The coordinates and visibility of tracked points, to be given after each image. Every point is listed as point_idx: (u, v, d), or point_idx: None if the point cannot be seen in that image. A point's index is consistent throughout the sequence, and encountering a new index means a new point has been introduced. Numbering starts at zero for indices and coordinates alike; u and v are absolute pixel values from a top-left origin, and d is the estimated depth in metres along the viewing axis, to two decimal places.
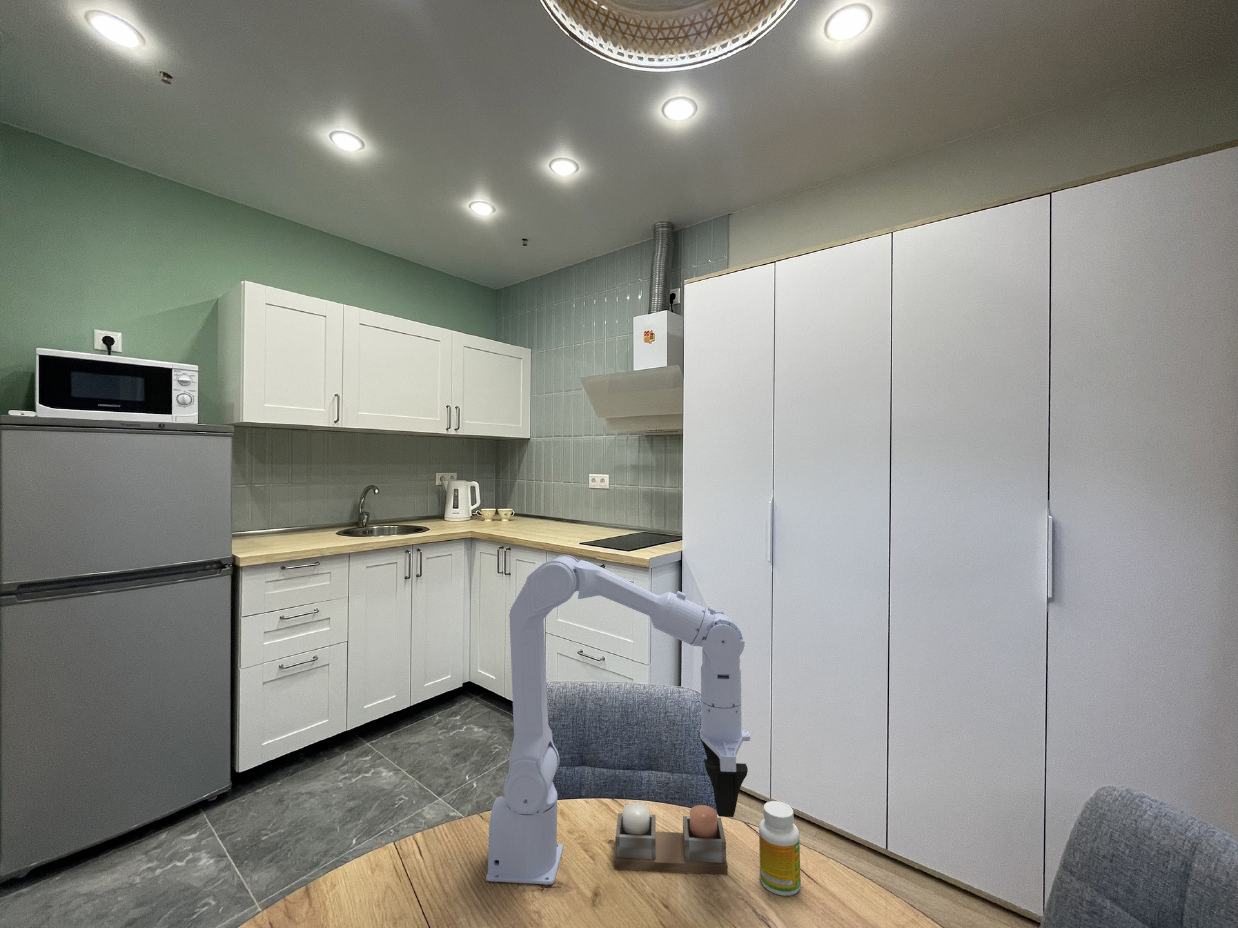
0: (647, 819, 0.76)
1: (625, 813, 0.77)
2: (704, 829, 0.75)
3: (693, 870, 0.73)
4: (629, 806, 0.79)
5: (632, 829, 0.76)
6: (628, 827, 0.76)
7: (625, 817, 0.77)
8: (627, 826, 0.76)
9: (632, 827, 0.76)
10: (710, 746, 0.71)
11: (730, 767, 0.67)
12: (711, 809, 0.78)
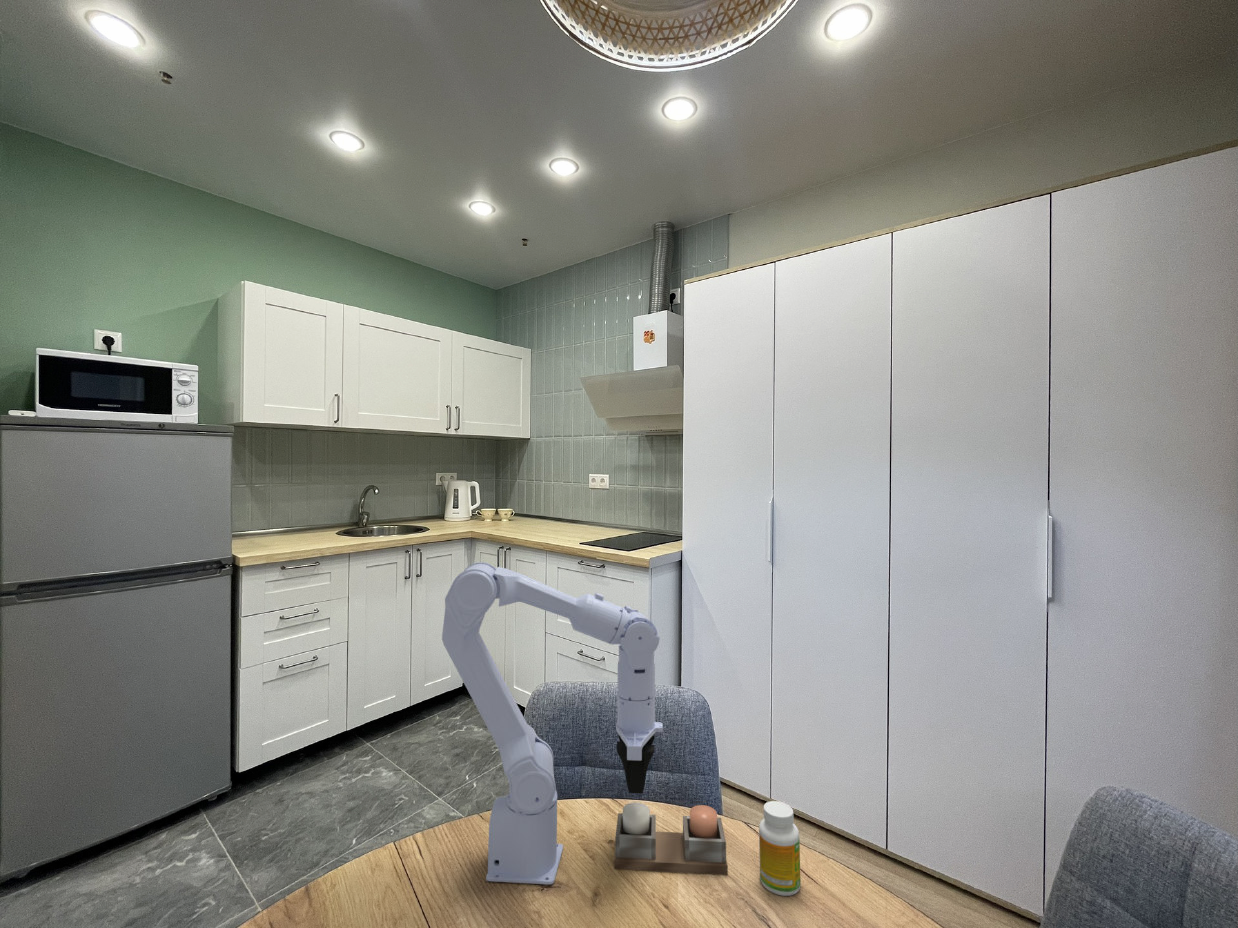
0: (647, 819, 0.76)
1: (625, 813, 0.77)
2: (704, 829, 0.75)
3: (693, 870, 0.73)
4: (629, 806, 0.79)
5: (632, 829, 0.76)
6: (628, 827, 0.76)
7: (625, 817, 0.77)
8: (627, 826, 0.76)
9: (632, 827, 0.76)
10: (621, 737, 0.75)
11: (636, 756, 0.71)
12: (711, 809, 0.78)
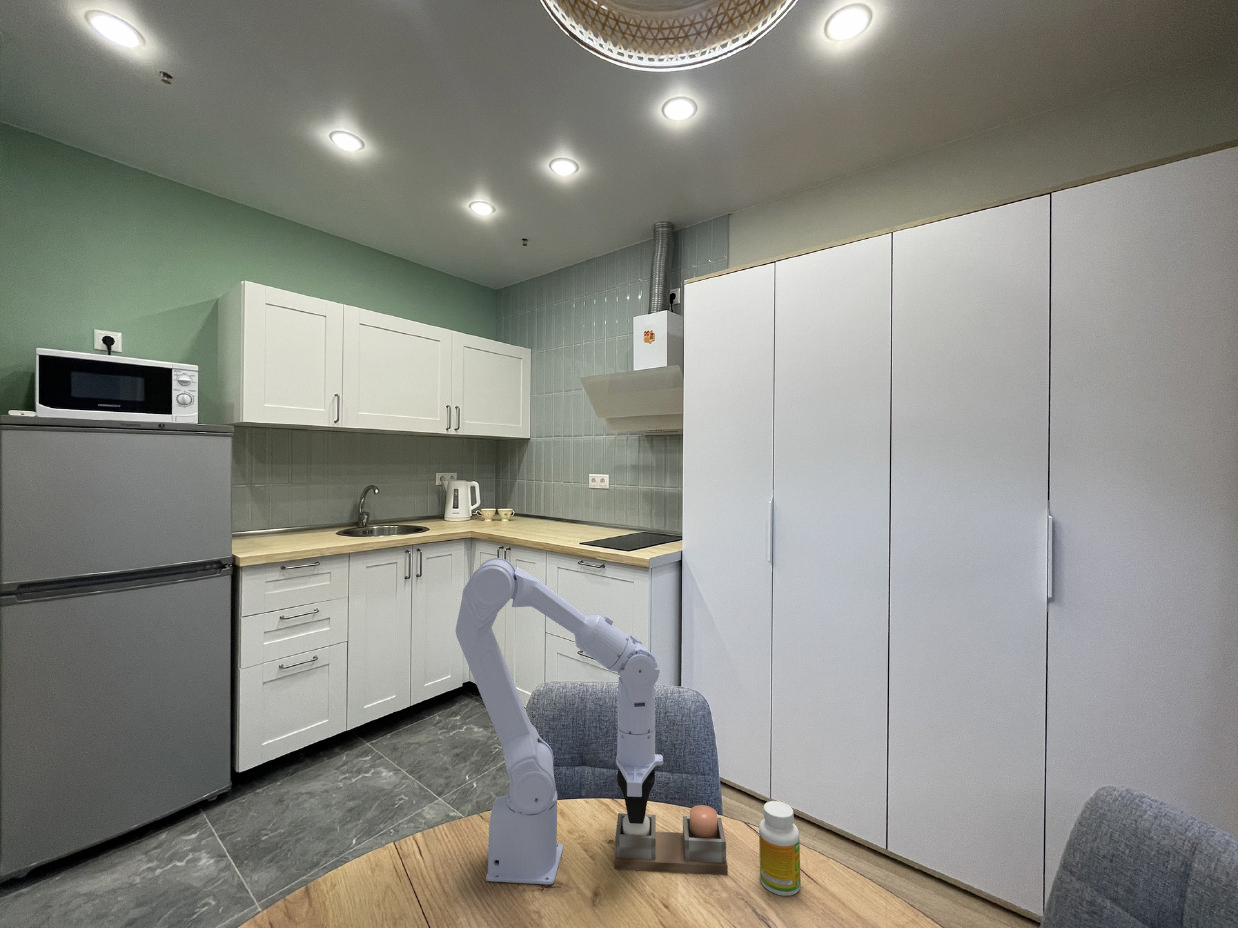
0: (647, 830, 0.76)
1: (625, 824, 0.77)
2: (704, 829, 0.75)
3: (693, 870, 0.73)
4: None
5: None
6: None
7: (625, 828, 0.76)
8: None
9: None
10: (622, 771, 0.75)
11: (636, 792, 0.71)
12: (711, 809, 0.78)
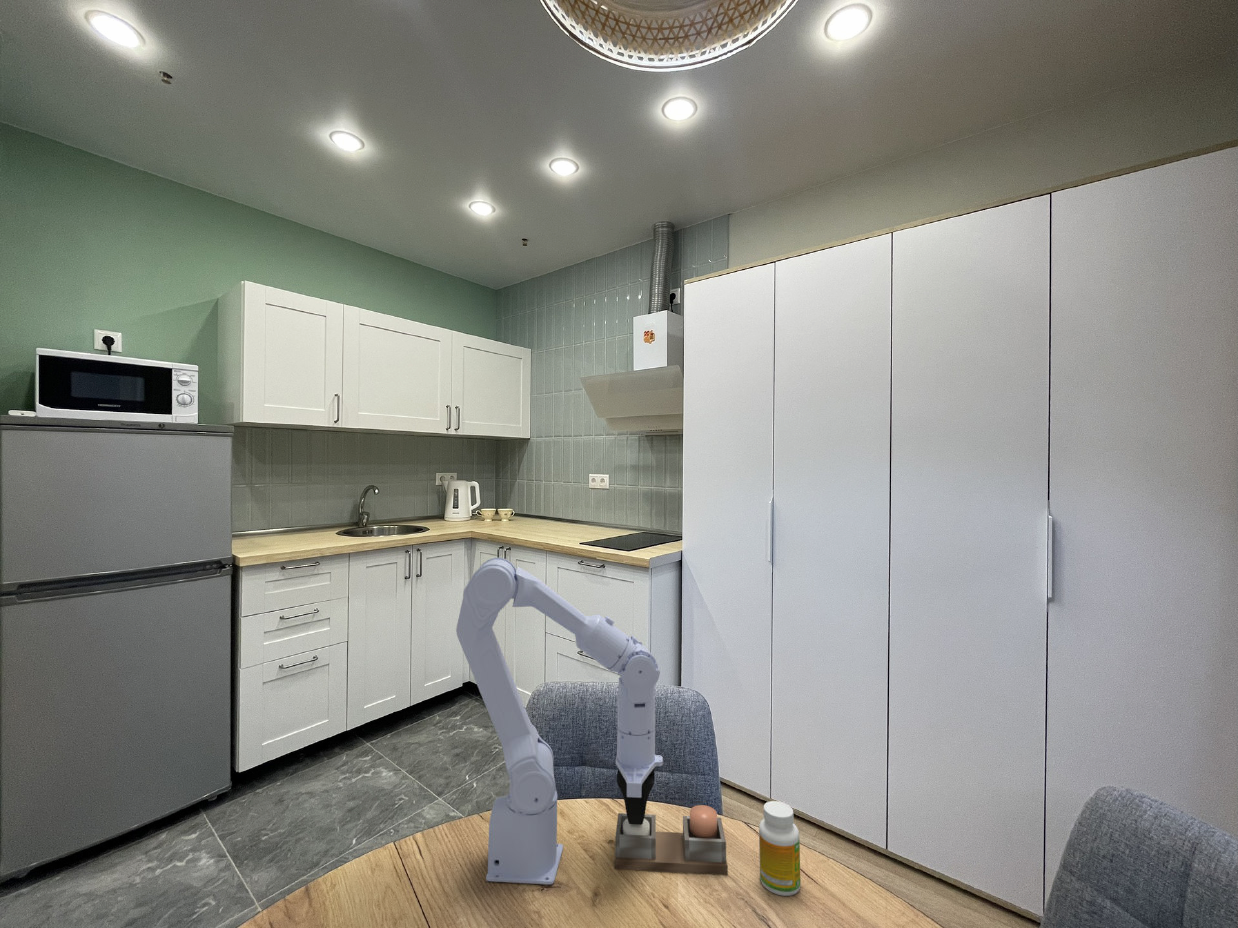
0: (647, 834, 0.76)
1: (625, 828, 0.77)
2: (704, 829, 0.75)
3: (693, 870, 0.73)
4: None
5: None
6: None
7: (625, 832, 0.76)
8: None
9: None
10: (621, 772, 0.75)
11: (635, 793, 0.71)
12: (711, 809, 0.78)
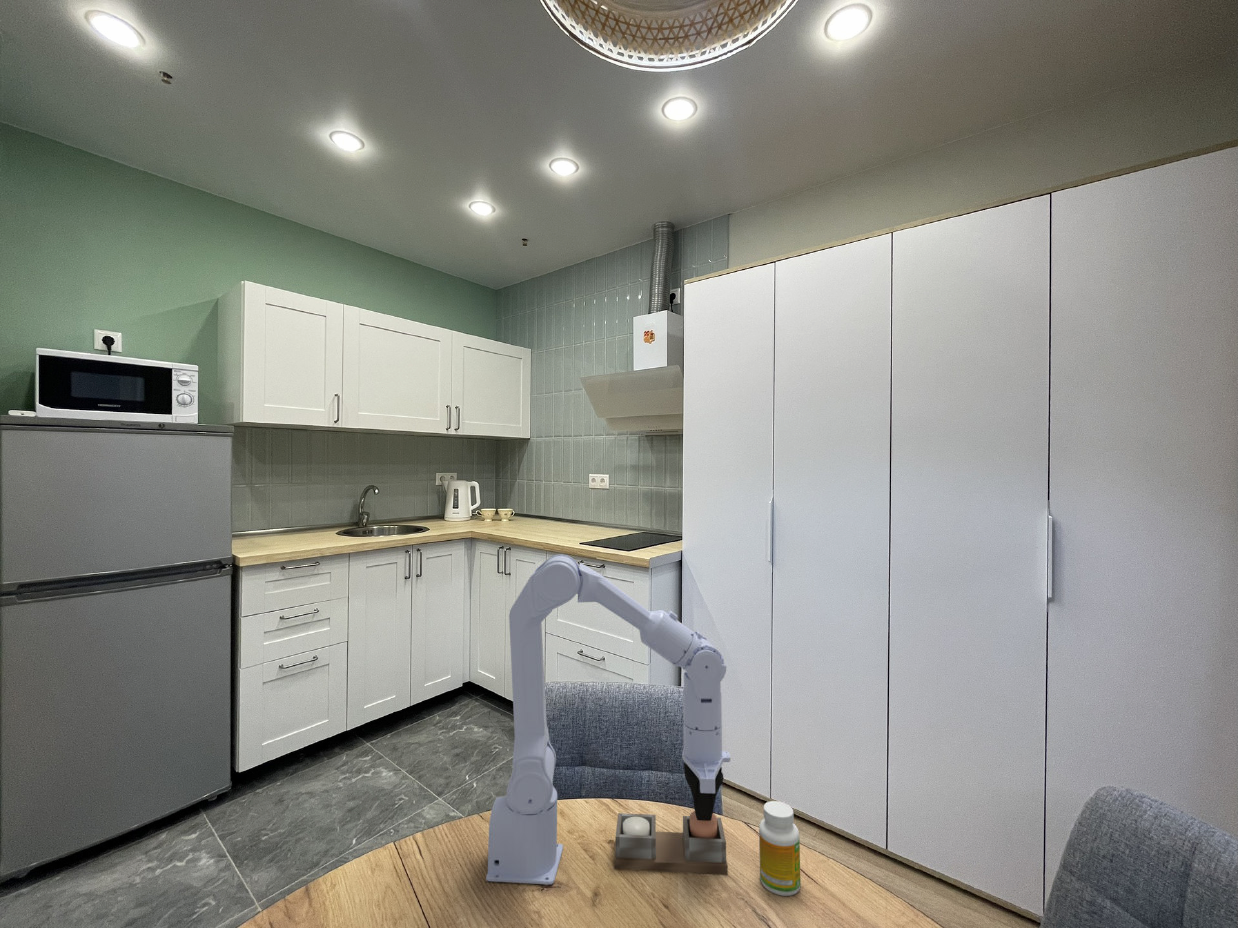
0: (647, 834, 0.76)
1: (625, 828, 0.77)
2: (704, 834, 0.75)
3: (693, 870, 0.73)
4: (629, 820, 0.79)
5: None
6: None
7: (625, 832, 0.76)
8: None
9: None
10: (691, 768, 0.74)
11: (709, 789, 0.70)
12: None
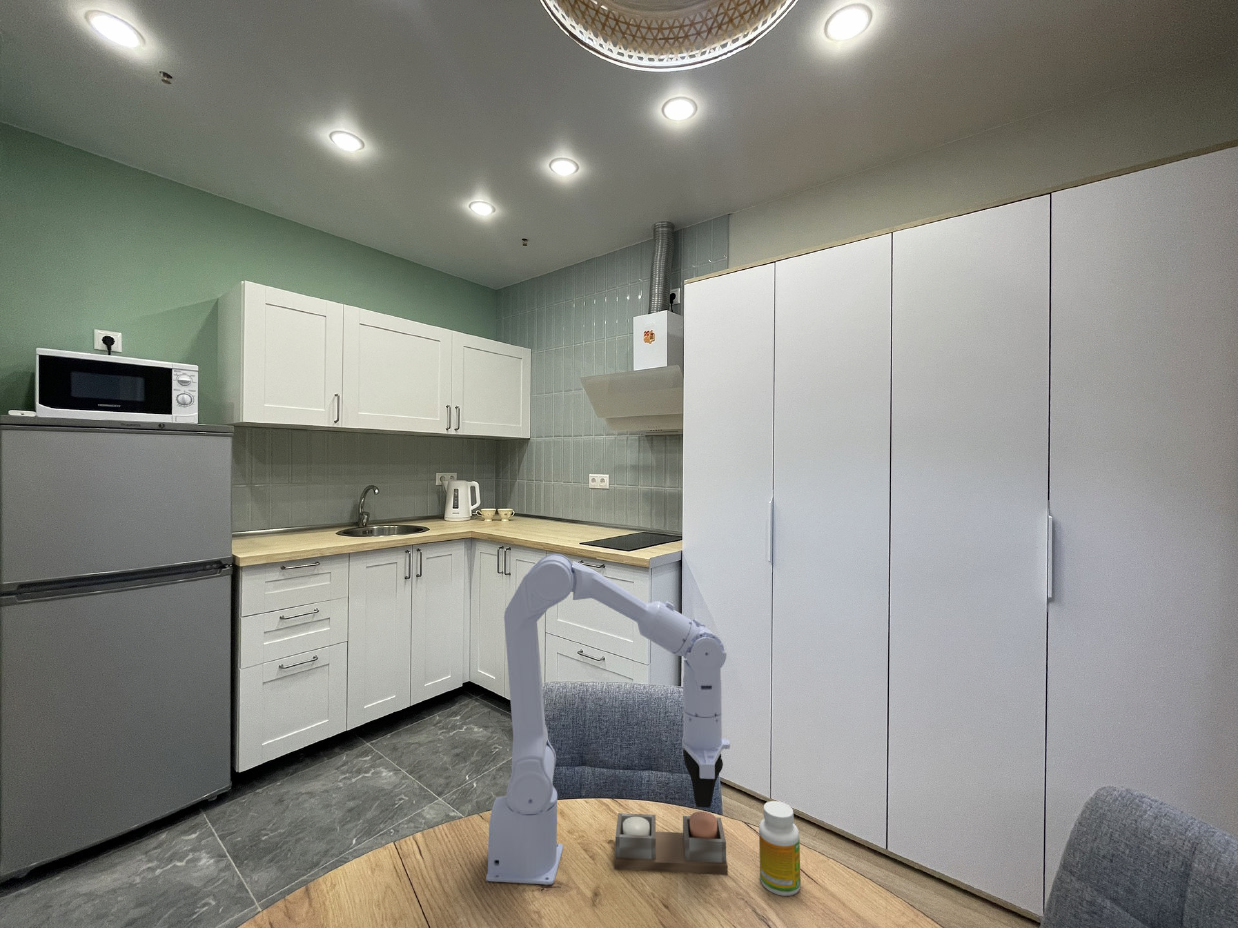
0: (647, 834, 0.76)
1: (625, 828, 0.77)
2: (704, 836, 0.75)
3: (693, 870, 0.73)
4: (629, 820, 0.79)
5: None
6: None
7: (625, 832, 0.76)
8: None
9: None
10: (691, 754, 0.74)
11: (709, 774, 0.70)
12: (711, 815, 0.78)
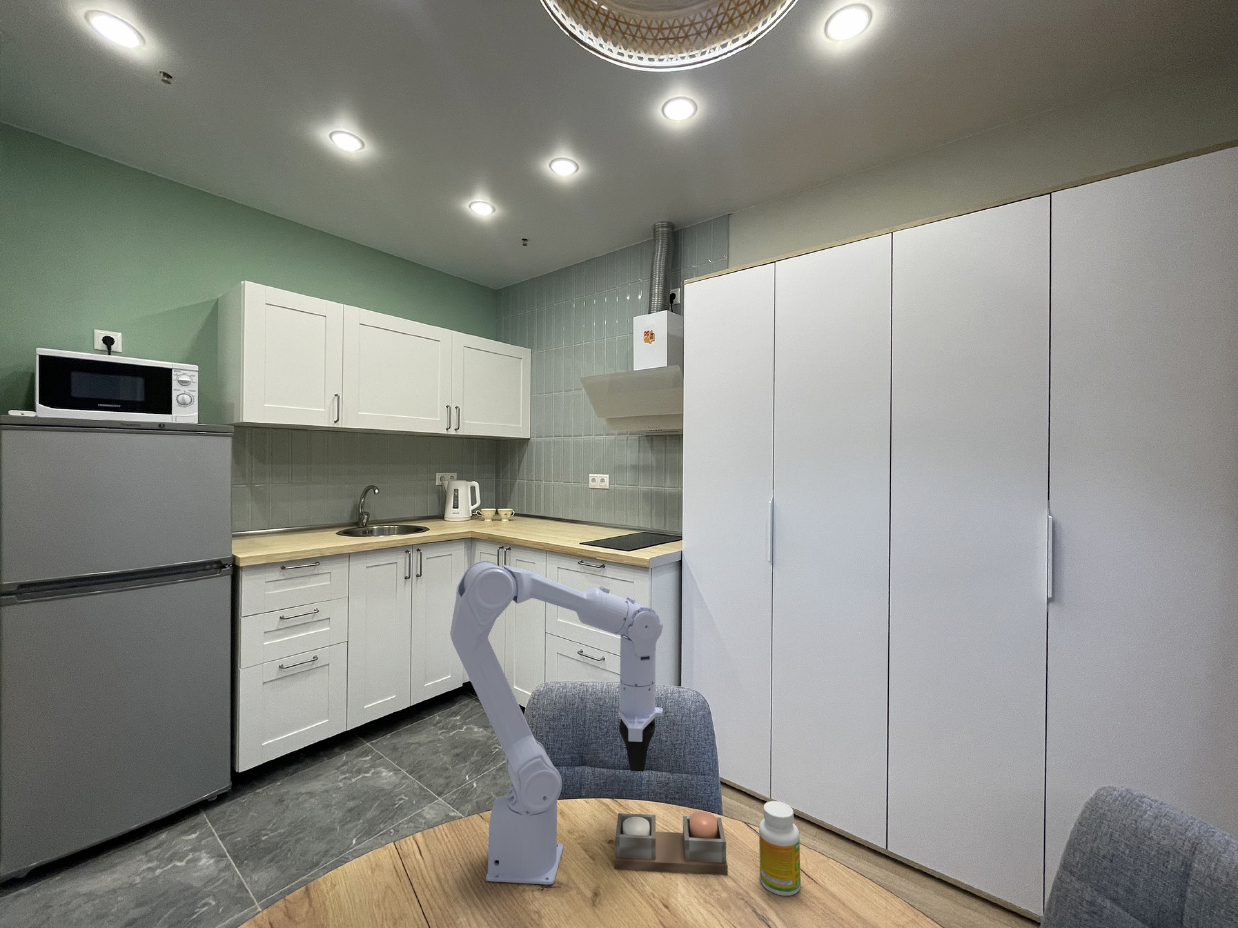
0: (647, 834, 0.76)
1: (625, 828, 0.77)
2: (704, 836, 0.75)
3: (693, 870, 0.73)
4: (629, 820, 0.79)
5: None
6: None
7: (625, 832, 0.76)
8: None
9: None
10: (623, 720, 0.79)
11: (636, 737, 0.76)
12: (711, 815, 0.78)
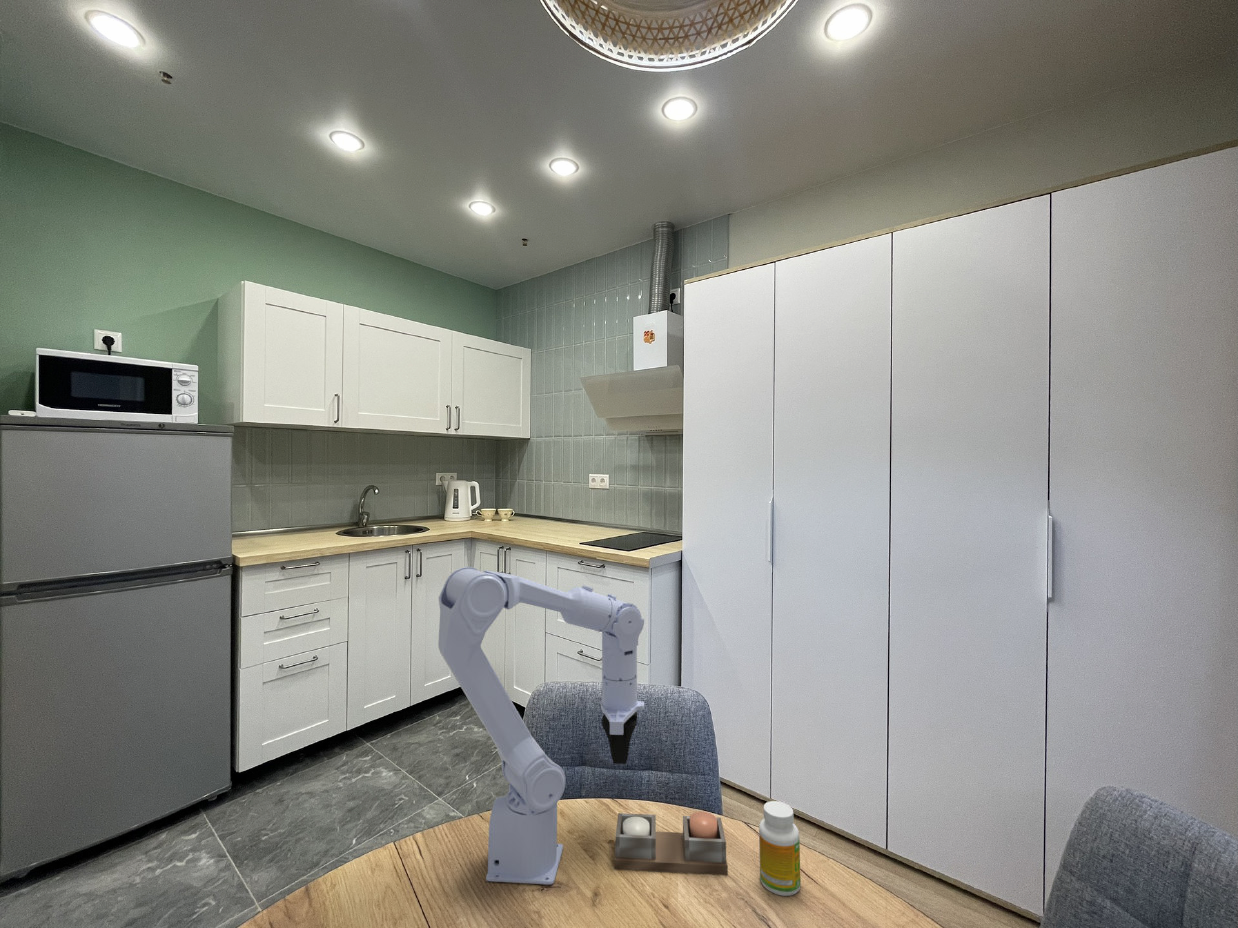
0: (647, 834, 0.76)
1: (625, 828, 0.77)
2: (704, 836, 0.75)
3: (693, 870, 0.73)
4: (629, 820, 0.79)
5: None
6: None
7: (625, 832, 0.76)
8: None
9: None
10: (605, 714, 0.81)
11: (618, 731, 0.77)
12: (711, 815, 0.78)
